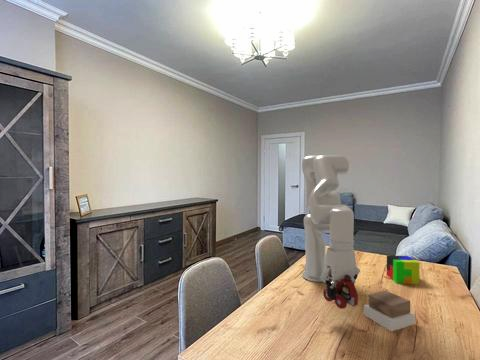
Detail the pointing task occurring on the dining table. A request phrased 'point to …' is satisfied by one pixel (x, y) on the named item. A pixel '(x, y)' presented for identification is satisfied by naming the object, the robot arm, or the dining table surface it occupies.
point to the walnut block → (389, 304)
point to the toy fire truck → (343, 293)
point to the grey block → (389, 319)
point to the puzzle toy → (403, 269)
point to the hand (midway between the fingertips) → (340, 295)
